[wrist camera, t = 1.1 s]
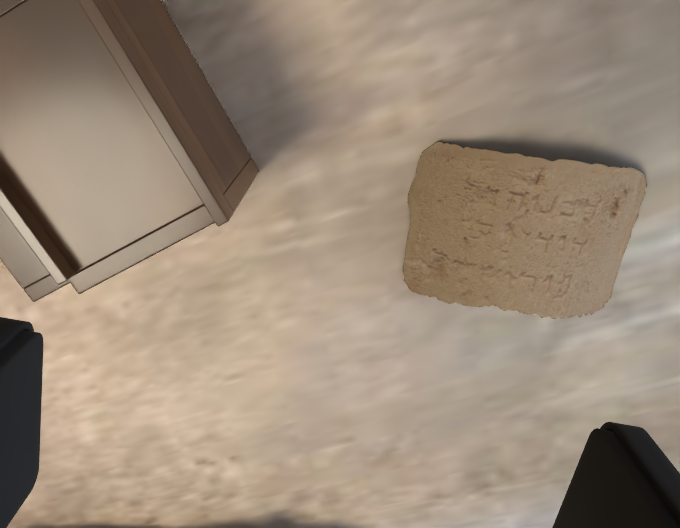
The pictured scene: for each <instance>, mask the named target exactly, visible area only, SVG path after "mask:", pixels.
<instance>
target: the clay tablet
mask: <svg viewBox="0 0 680 528" xmlns="http://www.w3.org/2000/svg"><path fill="white" fill-rule="evenodd" d="M646 187H647V184H646V181H645V175H642V172H639V171H638V170H637V169H632V168H631V167H629V168H627V169H626V168H625V167H623V168H618V167H614V166H612V167H607V166H605V165H603V164H596V163H595V164H593V165H590V164H588V163H584V162H579V161H573V160H563V159H559V160H556V161H553V162H551V161H548V160H546V159H544V158H539V157H537V158H535V157H531V156H528V157H525V156H523V155H521V154H518V153H515V154H513V153H511V154H505V153H501V152H498V151H495V150H494V151H490V150H487V149H482V150H479V149H477V148H475V149H471V148H470V147H465V148H462V147H461V146H459V145H457V144H452V145H449V144H448V143H445V144H443V143H442V142H437V143H435V144H434V145H433V146H431V147H429V148H428V149H426V150H425V151H423V152H422V155H421V156H420V160H419V163H418V168H417V171H416V177H415V179H414V181H413V183H412V186H411V188H410V191H409V194H408V204H409V207H410V216H411V223H410V229H409V233H408V239H407V245H406V253H405V260H404V264H403V273H404V281H405V283H406V284H407V286H408V288H409V289H410V290H411V291H412V292H416V293H418V294H421V295H427V296H429V297H433V296H436V297H437V298H438V300H441V301H444V302H446V303H449V304H452V303H453V302H457V303H459V304H462V305H466V306H474V307H482V306H492V305H494V306H497V307H499V308H500V309H502V310H504V311H506V310H512V311H518V312H520V313H523V314H537V315H539V316H540V317H541V318H543V317H548V316H549V317H551V318H553V319H556V318H566V317H567V318H569V317H573V316H576V315H577V316H578V317H581V316H582V315H583V314H584V315H588V314H589V313H590V314H591V315H592V314H593V313H594V312H595V311H598V310H600V309H602V307H604V304H605V303H607V301H608V300H609V299H610V297H611V294H612V290H613V286H614V282H615V279H616V276H617V273H618V270H619V267H620V264H621V261H622V257H623V254H624V252H625V249H626V247H627V244H628V241H629V239H630V237H631V231H632V228H633V226H634V224H635V222H636V220H637V218H638V211H639V208H640V205H641V203H642V201H643V198H644V196H645V189H646Z"/></svg>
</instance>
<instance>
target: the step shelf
mask: <svg viewBox="0 0 680 528" xmlns="http://www.w3.org/2000/svg"><path fill="white" fill-rule="evenodd" d="M258 172H259V170H258V168H257V166H256V165H255V163H254V161H253V159H252V158H251V156H250V154H249V152H248V151H247V149H246V147H245V145H244V144H243V142H242V140H241V138H240V137H239V135H238V133H237V132H236V130H235V128H234V126H233V125H232V123H231V121H230V119H229V118H228V116H227V114H226V112H225V111H224V109H223V107H222V106H221V104H220V102H219V100H218V99H217V97H216V95H215V93H214V92H213V90H212V88H211V86H210V85H209V83H208V81H207V80H206V78H205V76H204V74H203V73H202V71H201V69H200V67H199V66H198V64H197V62H196V60H195V59H194V57H193V55H192V54H191V52H190V50H189V48H188V47H187V45H186V43H185V41H184V40H183V38H182V36H181V35H180V33H179V31H178V29H177V28H176V26H175V24H174V22H173V21H172V19H171V17H170V15H169V14H168V12H167V10H166V9H165V7H164V5H163V3H162V2H161V0H0V259H1V261H2V262H3V263H4V265H5V266H6V267H7V269H8V270H9V271H10V273H11V274H12V275H13V277H14V278H15V279H16V280H17V282H18V283H19V284H20V286H21V287H22V288H24V290H25V292H26V293H27V294H28V296H29V297H30V298H31V300H32V301H33V302H35V301H37V300H39V299H41V298H43V297H44V296H46V295H48V294H50V293H52V292H54V291H56V290H58V289H59V288H61V287H63V286H65V285H67V284H69V283H71V284H72V285H73V287H74V288H75V289H76V291H77V292H78V293H79V294H81V293H83V292H84V291H86V290H88V289H90V288H92V287H94V286H96V285H98V284H100V283H102V282H103V281H105V280H107V279H109V278H111V277H113V276H115V275H117V274H119V273H120V272H122V271H124V270H126V269H128V268H130V267H132V266H134V265H136V264H137V263H139V262H141V261H143V260H145V259H147V258H149V257H151V256H153V255H154V254H156V253H158V252H160V251H162V250H164V249H166V248H168V247H170V246H172V245H173V244H175V243H177V242H179V241H181V240H183V239H185V238H187V237H189V236H190V235H192V234H194V233H196V232H198V231H200V230H202V229H204V228H206V227H207V226H209V225H211V224H213V223H216V224H217V226H220V225H222V224H224V223H226V222H228V221H229V220H230V218H231V216H232V215H233V213H234V211H235V209H236V208H237V206H238V205H239V203H240V201H241V200H242V198H243V197H244V195H245V193H246V192H247V190H248V188H249V187H250V185H251V184H252V182H253V180H254V179H255V177H256V175H257V174H258Z"/></svg>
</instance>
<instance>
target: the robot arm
mask: <svg viewBox="0 0 680 528" xmlns="http://www.w3.org/2000/svg"><path fill="white" fill-rule="evenodd" d="M42 366H43V337H42V335H41V334H40V333H37V332H34V329H33V326H32V324H31V323H30V322H25V321H19V320H14V319H8V318H2V317H0V528H6V527H7V526H8V524H9V523H10V521H11V520H12V518H13V517H14V516H15V514H16V513H17V511H18V510H19V508H20V507H21V505H22V504H23V502H24V501H25V499H26V498H27V497H28V495H29V494H30V492H31V490H32V489H33V486H34V484H35V482H36V479H37V475H38V470H39V451H40V422H41V394H42ZM553 528H680V473H679V472H678V471H677V469H676V468H675V467H674V466H673V464H672V463H671V462H670V461H669V459H668V458H667V457H666V456H665V454H664V453H663V452H662V451H661V449H660V448H659V447H658V445H657V444H656V443H655V442H654V440H653V439H652V438H651V437H650V435H649V434H648V433H647V432H646V431H645V430H644V429H643V428H640V427H636V426H630V425H624V424H618V423H612V422H607V423H605V424H604V425H603V426H602V427H601V428H600V429H598V428H597V429H594V430H593V431H592V432H591V434H590V436H589V438H588V440H587V443H586V445H585V448H584V450H583V453H582V455H581V458H580V460H579V463H578V465H577V468H576V470H575V473H574V475H573V478H572V480H571V483H570V485H569V488H568V490H567V493H566V495H565V498H564V500H563V503H562V505H561V508H560V510H559V513H558V515H557V518H556V520H555V523H554V525H553Z"/></svg>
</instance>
